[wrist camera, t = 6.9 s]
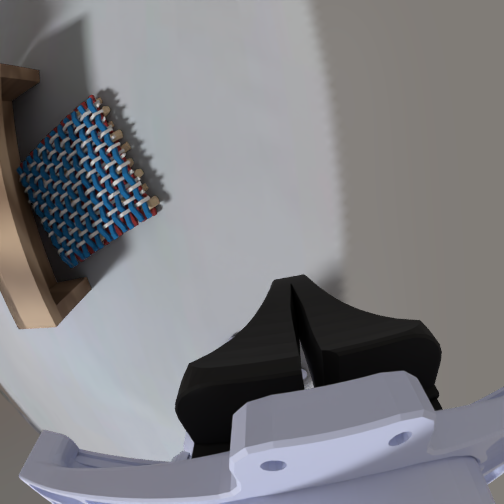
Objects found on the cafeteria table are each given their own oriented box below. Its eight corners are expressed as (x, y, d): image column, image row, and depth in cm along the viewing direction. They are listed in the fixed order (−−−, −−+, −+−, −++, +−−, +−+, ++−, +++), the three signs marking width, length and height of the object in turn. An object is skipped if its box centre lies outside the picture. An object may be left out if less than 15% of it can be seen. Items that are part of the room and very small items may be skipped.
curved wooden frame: (91, 289, 23) (56, 326, 17) (54, 295, 23) (18, 329, 18) (38, 70, 16) (-9, 62, 10) (3, 95, 16) (-42, 95, 11)
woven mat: (105, 89, 18) (91, 85, 16) (168, 206, 21) (159, 213, 19) (23, 165, 19) (9, 168, 17) (76, 265, 23) (64, 275, 21)
